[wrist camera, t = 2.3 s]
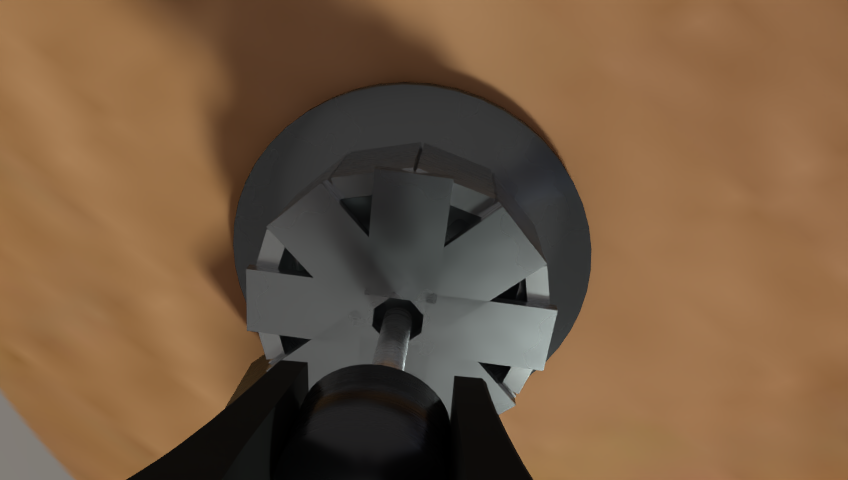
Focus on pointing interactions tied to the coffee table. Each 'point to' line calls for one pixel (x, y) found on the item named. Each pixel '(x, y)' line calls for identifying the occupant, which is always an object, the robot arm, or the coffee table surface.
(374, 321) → the grey fan
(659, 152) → the coffee table surface
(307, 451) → the plunger
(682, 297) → the coffee table surface
